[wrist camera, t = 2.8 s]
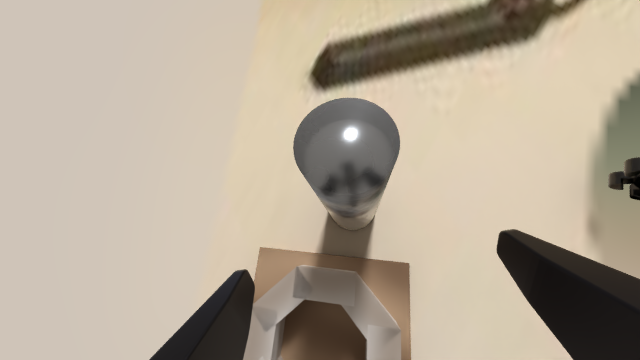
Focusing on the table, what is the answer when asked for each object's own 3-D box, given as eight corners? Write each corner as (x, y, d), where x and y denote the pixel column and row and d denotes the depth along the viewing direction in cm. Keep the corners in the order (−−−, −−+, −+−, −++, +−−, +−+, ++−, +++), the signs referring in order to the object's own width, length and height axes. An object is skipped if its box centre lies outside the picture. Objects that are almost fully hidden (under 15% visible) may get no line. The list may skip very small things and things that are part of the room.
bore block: (410, 466, 14) (423, 519, 11) (234, 420, 16) (208, 455, 13) (406, 263, 18) (416, 264, 15) (263, 247, 20) (248, 246, 17)
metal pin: (385, 204, 19) (423, 133, 8) (354, 240, 19) (349, 216, 8) (350, 176, 21) (340, 81, 9) (320, 208, 20) (273, 149, 9)
